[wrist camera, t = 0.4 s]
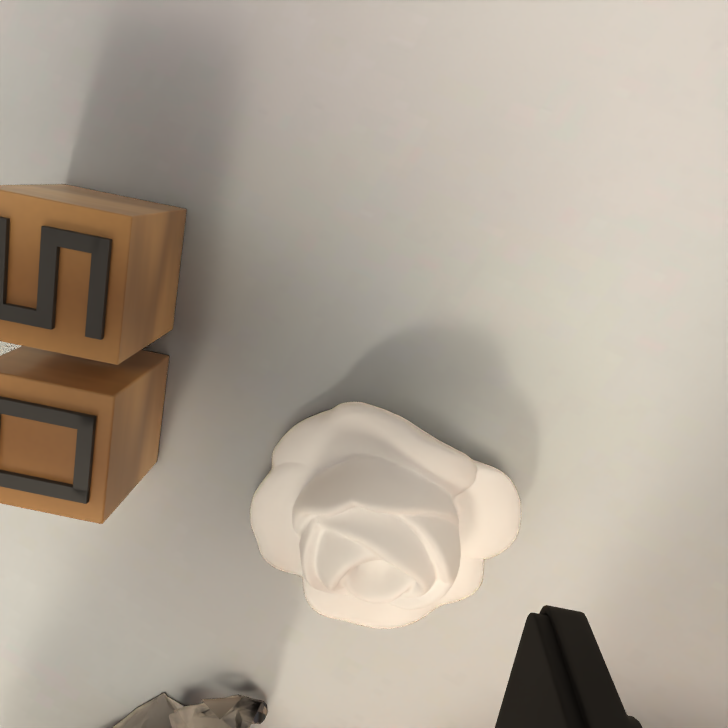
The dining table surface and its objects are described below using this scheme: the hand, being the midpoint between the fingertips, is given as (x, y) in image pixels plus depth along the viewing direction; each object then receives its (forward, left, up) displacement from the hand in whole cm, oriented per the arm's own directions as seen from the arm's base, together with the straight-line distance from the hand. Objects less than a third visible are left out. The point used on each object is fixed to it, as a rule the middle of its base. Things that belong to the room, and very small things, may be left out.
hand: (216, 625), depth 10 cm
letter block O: (+3, -8, -15) cm, 18 cm away
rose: (+5, +3, -16) cm, 17 cm away
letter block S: (-2, -8, -15) cm, 18 cm away
